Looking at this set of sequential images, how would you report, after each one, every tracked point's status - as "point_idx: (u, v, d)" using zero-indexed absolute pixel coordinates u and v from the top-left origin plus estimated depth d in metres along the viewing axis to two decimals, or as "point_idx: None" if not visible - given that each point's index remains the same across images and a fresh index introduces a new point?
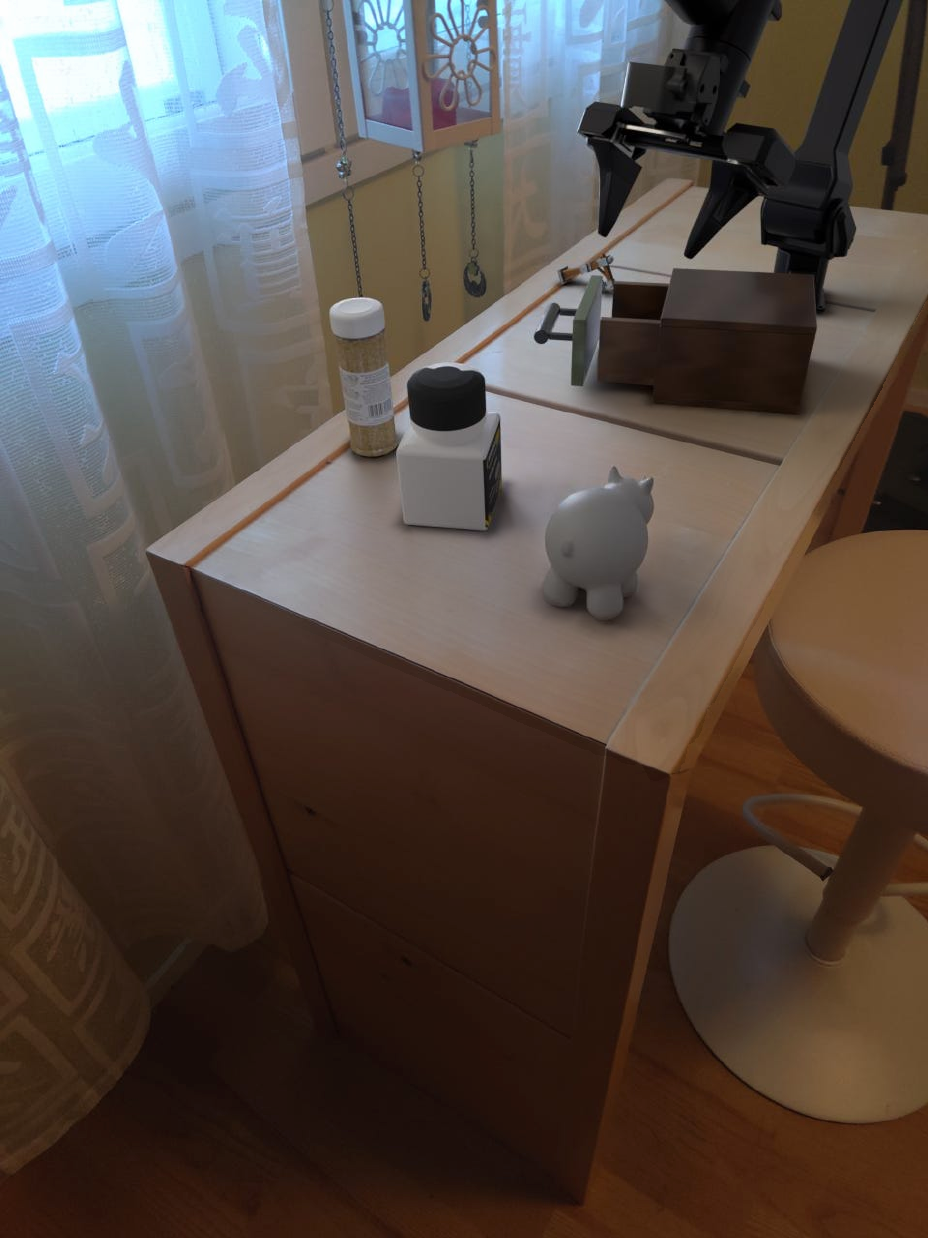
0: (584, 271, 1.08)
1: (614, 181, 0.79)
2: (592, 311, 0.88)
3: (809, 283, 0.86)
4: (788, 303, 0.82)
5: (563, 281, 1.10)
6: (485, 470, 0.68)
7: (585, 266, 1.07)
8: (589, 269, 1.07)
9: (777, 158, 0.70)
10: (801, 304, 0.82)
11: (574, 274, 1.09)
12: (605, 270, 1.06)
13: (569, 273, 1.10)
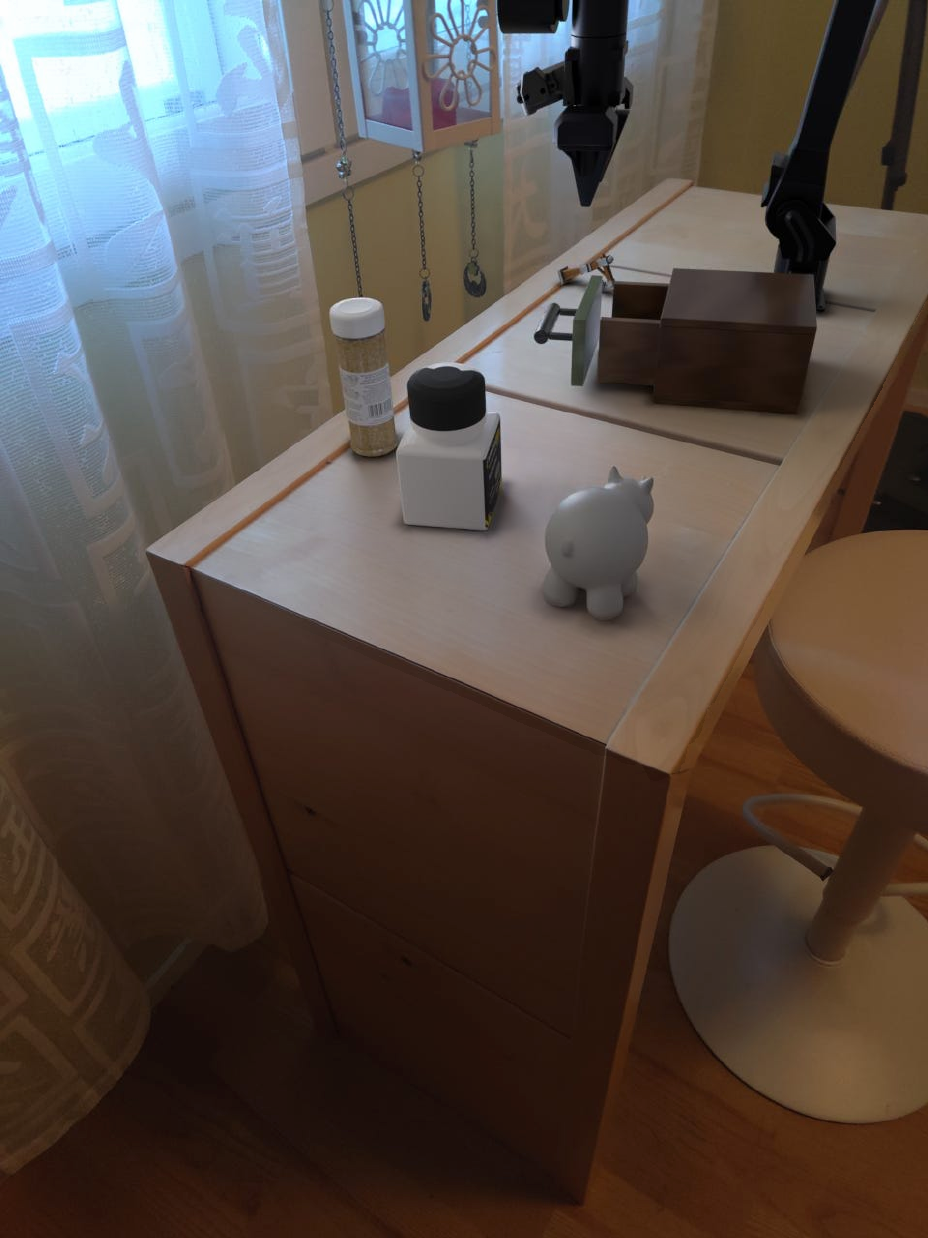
0: (584, 271, 1.08)
1: None
2: (592, 311, 0.88)
3: (809, 283, 0.86)
4: (788, 303, 0.82)
5: (563, 281, 1.10)
6: (485, 470, 0.68)
7: (585, 266, 1.07)
8: (589, 269, 1.07)
9: (573, 133, 0.90)
10: (801, 304, 0.82)
11: (574, 274, 1.09)
12: (605, 270, 1.06)
13: (569, 273, 1.10)
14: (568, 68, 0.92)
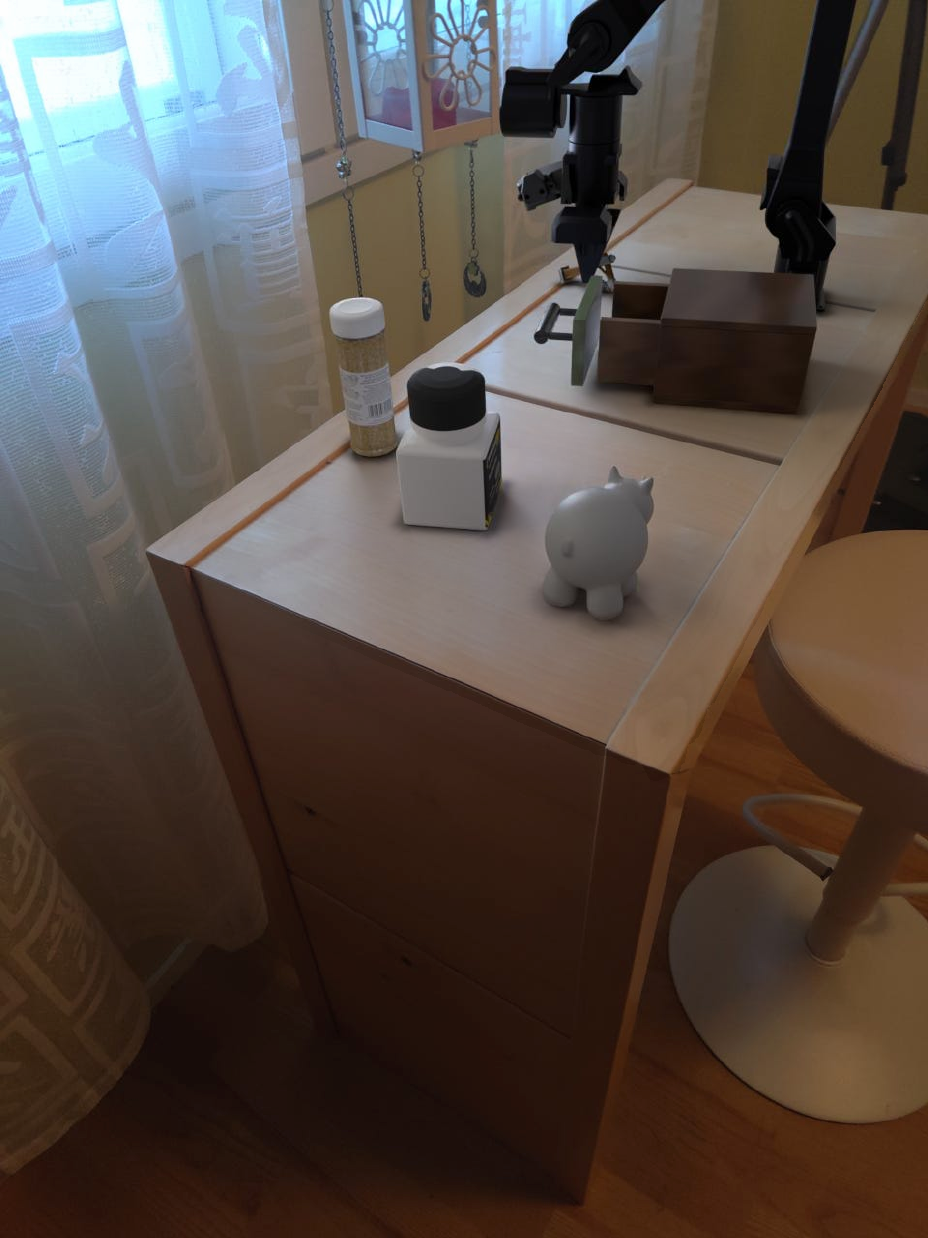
0: None
1: None
2: (592, 311, 0.88)
3: (809, 283, 0.86)
4: (788, 303, 0.82)
5: (563, 279, 1.10)
6: (485, 470, 0.68)
7: None
8: None
9: (570, 233, 0.97)
10: (801, 304, 0.82)
11: (575, 273, 1.09)
12: (606, 269, 1.06)
13: (570, 272, 1.10)
14: (565, 170, 0.99)
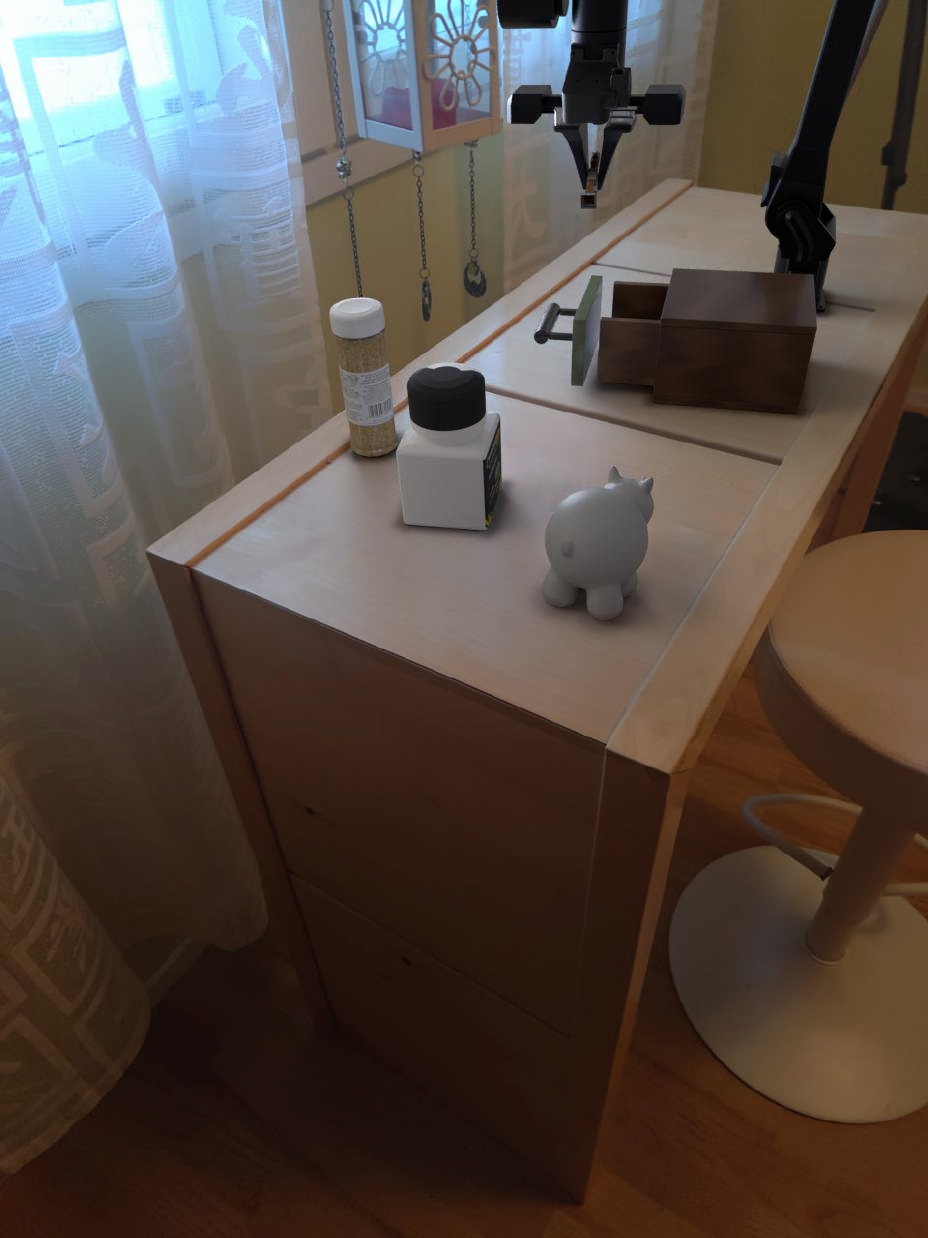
0: (595, 180, 1.01)
1: (584, 148, 0.99)
2: (592, 311, 0.88)
3: (809, 283, 0.86)
4: (788, 303, 0.82)
5: (596, 203, 1.00)
6: (485, 470, 0.68)
7: (596, 174, 1.01)
8: (595, 176, 1.01)
9: (682, 108, 0.94)
10: (801, 304, 0.82)
11: None
12: (597, 167, 1.03)
13: (593, 192, 1.00)
14: (618, 62, 0.91)
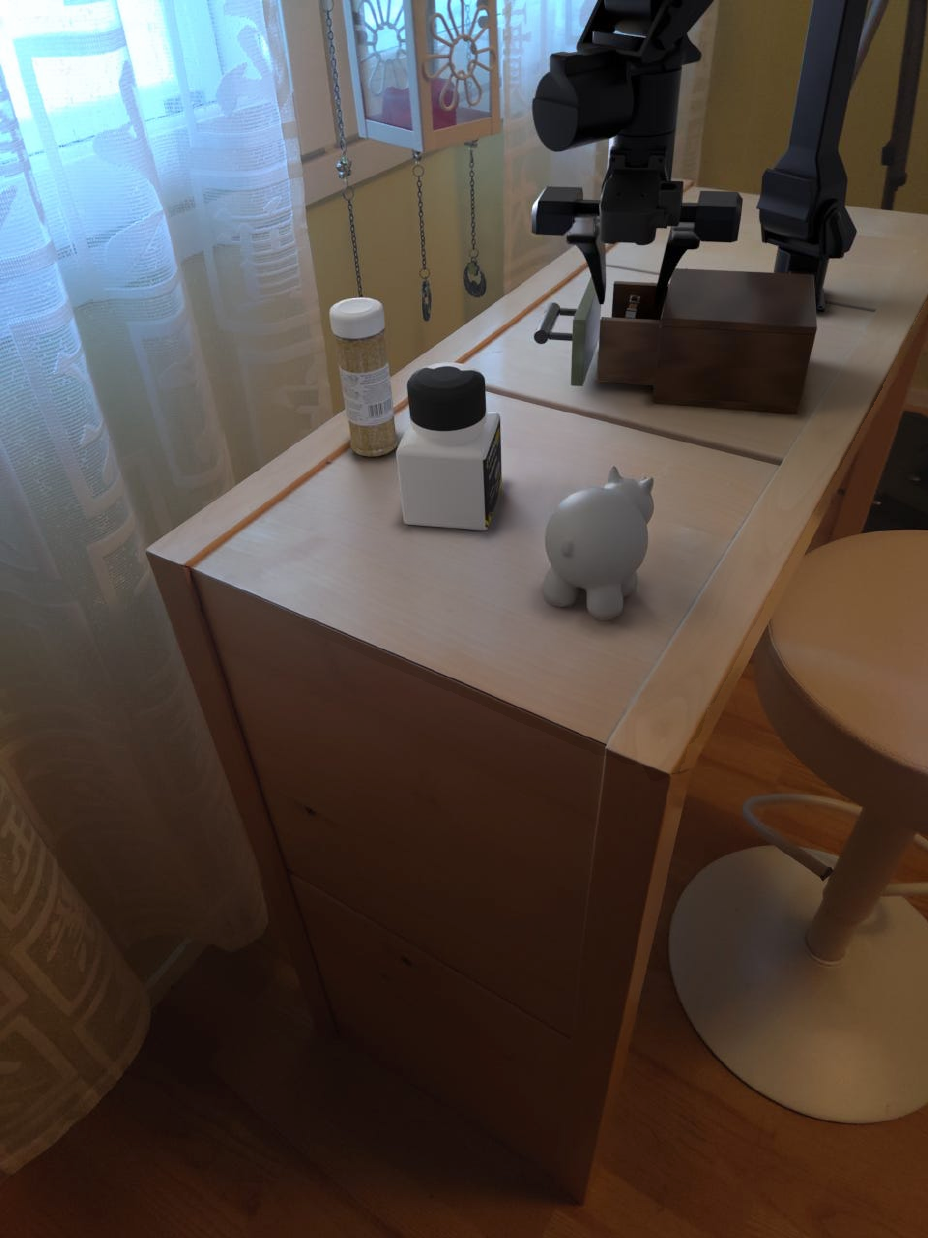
0: None
1: (601, 260, 0.85)
2: (592, 311, 0.88)
3: (809, 283, 0.86)
4: (788, 303, 0.82)
5: None
6: (485, 470, 0.68)
7: (635, 315, 0.88)
8: None
9: None
10: (801, 304, 0.82)
11: None
12: None
13: None
14: (666, 171, 0.76)
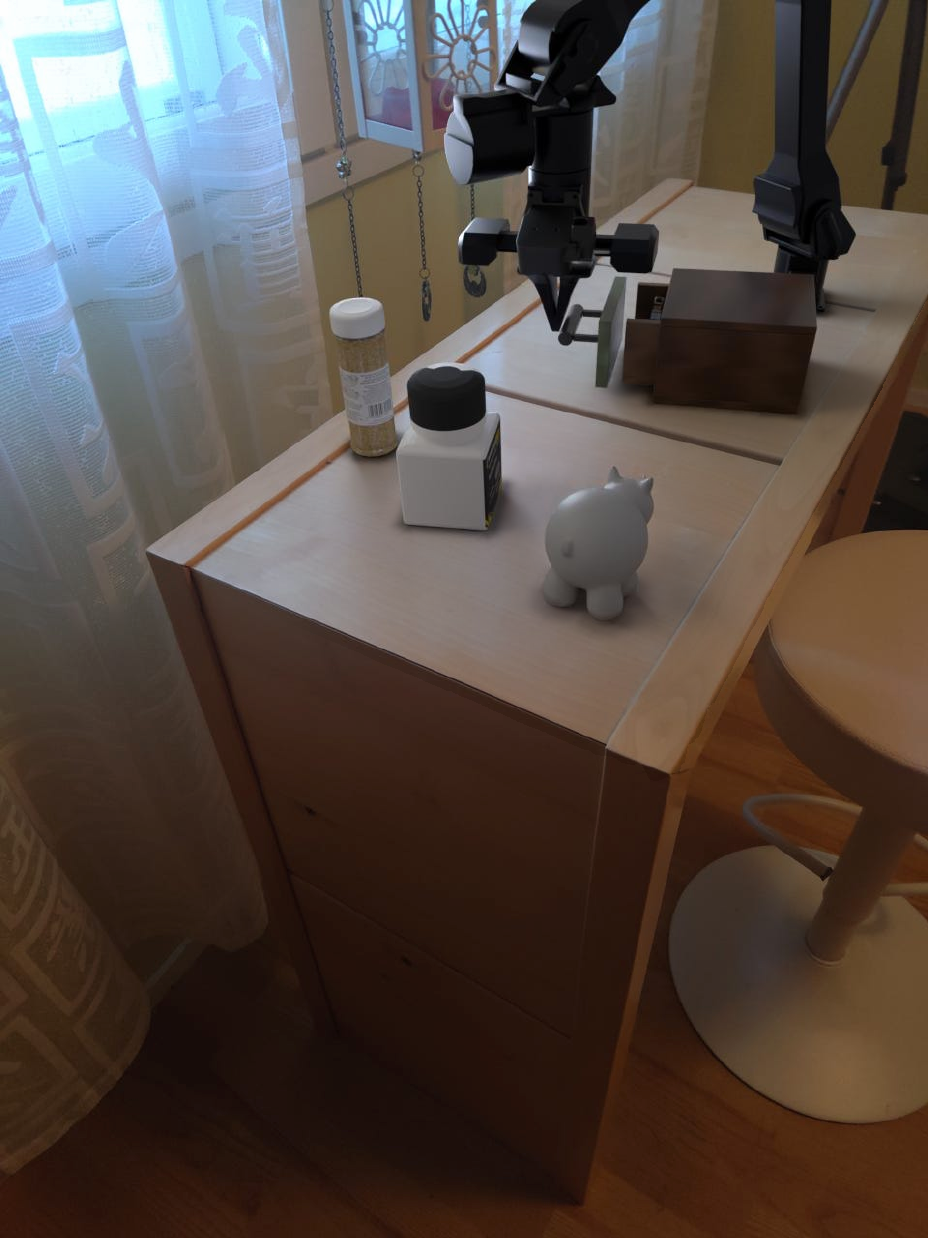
0: None
1: (552, 289, 0.88)
2: (617, 312, 0.87)
3: (809, 283, 0.86)
4: (788, 303, 0.82)
5: None
6: (485, 470, 0.68)
7: (660, 316, 0.88)
8: None
9: (655, 253, 0.83)
10: (801, 304, 0.82)
11: None
12: None
13: None
14: (581, 206, 0.80)
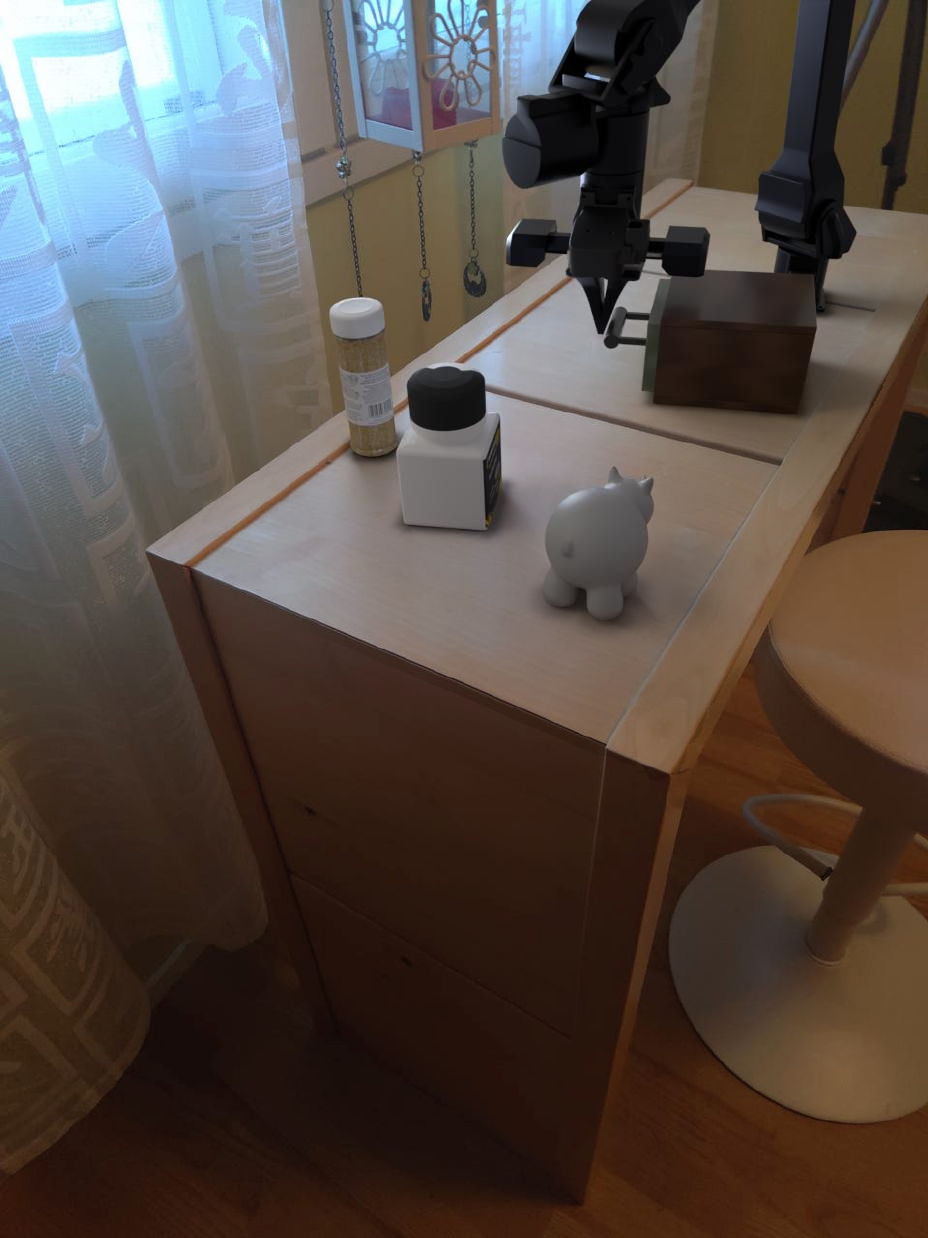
0: None
1: (600, 292, 0.87)
2: None
3: (809, 283, 0.86)
4: (788, 303, 0.82)
5: None
6: (485, 470, 0.68)
7: None
8: None
9: (706, 257, 0.82)
10: (801, 304, 0.82)
11: None
12: None
13: None
14: (634, 208, 0.79)
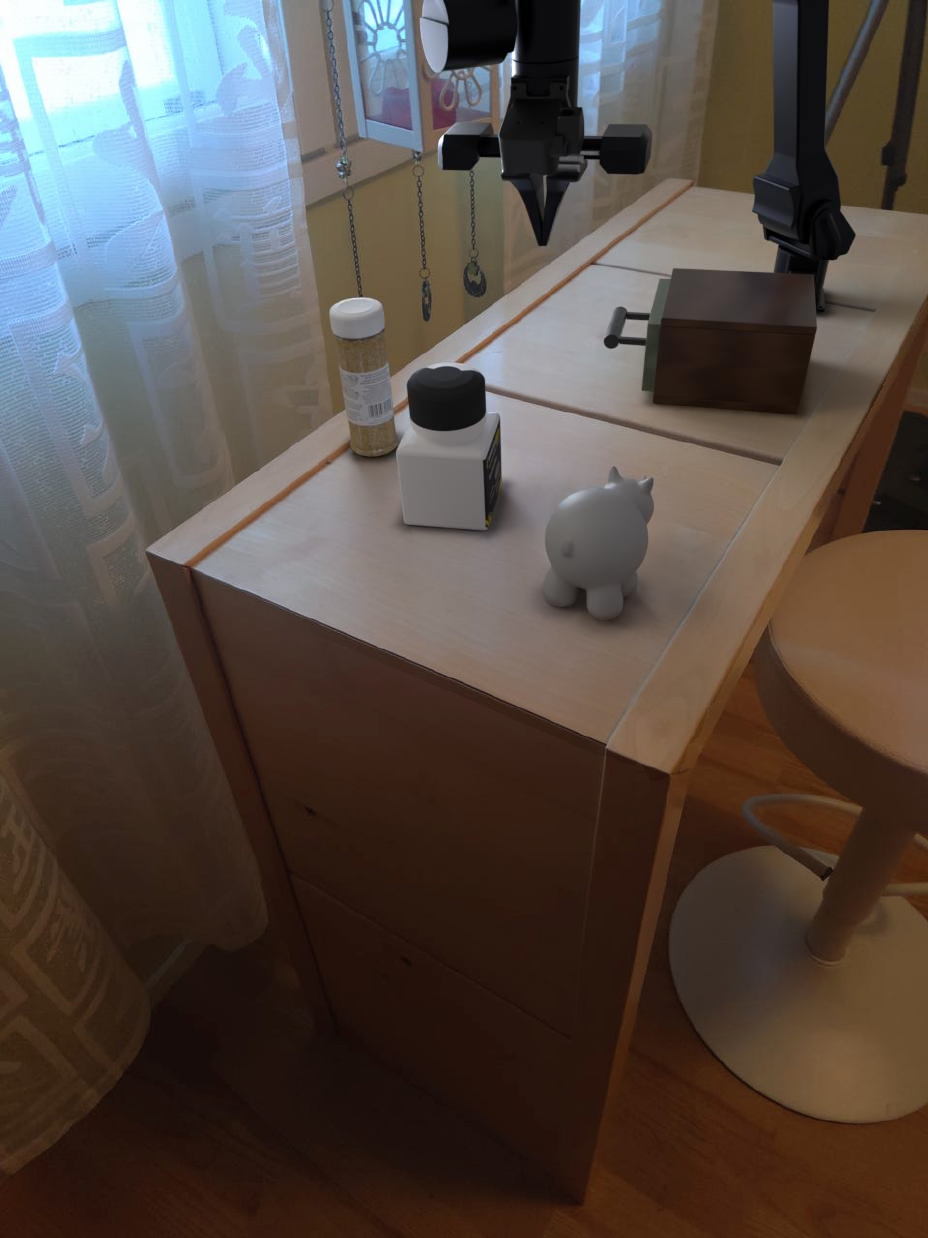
0: None
1: (538, 198, 0.83)
2: None
3: (809, 283, 0.86)
4: (788, 303, 0.82)
5: None
6: (485, 470, 0.68)
7: None
8: None
9: (647, 153, 0.78)
10: (801, 304, 0.82)
11: None
12: None
13: None
14: (568, 99, 0.75)
